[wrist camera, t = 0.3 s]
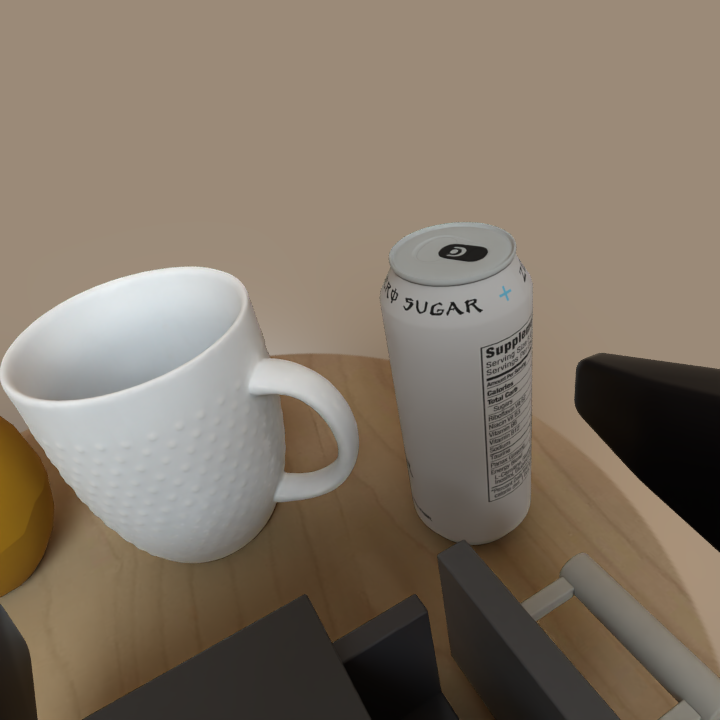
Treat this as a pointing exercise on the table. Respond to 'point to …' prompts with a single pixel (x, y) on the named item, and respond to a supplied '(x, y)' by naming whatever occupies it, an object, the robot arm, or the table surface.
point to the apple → (21, 508)
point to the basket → (514, 649)
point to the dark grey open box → (253, 677)
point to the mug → (171, 410)
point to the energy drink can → (463, 376)
